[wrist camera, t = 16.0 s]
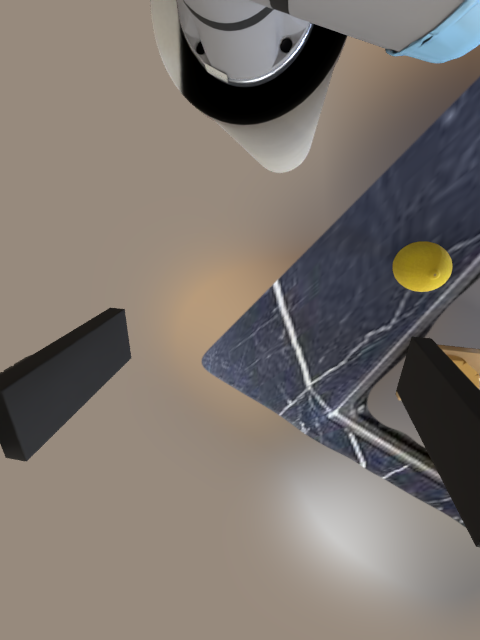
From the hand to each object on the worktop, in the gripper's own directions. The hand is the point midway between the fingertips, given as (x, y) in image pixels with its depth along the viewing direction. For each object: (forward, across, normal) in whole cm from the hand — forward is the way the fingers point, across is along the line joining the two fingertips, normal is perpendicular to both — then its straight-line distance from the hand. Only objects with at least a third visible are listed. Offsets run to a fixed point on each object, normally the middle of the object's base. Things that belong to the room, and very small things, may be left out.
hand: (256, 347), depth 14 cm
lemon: (+29, +16, -1) cm, 33 cm away
